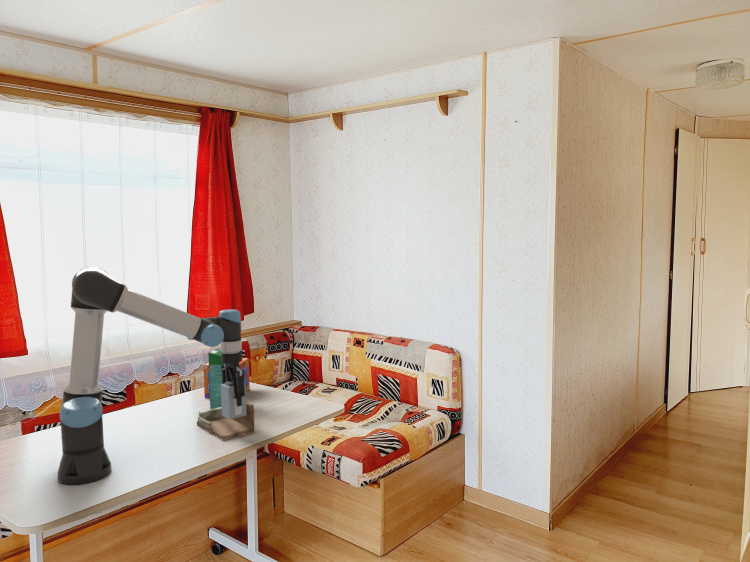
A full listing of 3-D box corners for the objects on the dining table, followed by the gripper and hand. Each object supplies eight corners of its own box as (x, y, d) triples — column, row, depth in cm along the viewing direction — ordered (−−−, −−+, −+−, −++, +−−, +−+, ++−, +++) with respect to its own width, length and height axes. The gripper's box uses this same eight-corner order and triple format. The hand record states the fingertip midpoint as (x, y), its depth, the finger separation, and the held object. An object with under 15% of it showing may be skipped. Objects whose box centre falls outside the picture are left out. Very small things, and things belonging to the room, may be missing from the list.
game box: (219, 388, 276) (218, 356, 274) (250, 390, 273) (249, 357, 272) (204, 398, 261) (203, 364, 259) (236, 400, 258) (235, 365, 256)
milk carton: (230, 411, 242) (228, 352, 240) (210, 410, 244) (208, 352, 242) (239, 404, 251) (237, 348, 249) (220, 403, 253) (218, 347, 250)
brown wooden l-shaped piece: (222, 440, 209) (221, 412, 208) (196, 425, 226) (195, 399, 225) (254, 431, 218) (253, 404, 217) (227, 417, 234) (226, 392, 233)
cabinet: (229, 419, 212) (228, 385, 210) (221, 415, 216) (220, 381, 215) (246, 415, 216) (245, 381, 215) (238, 411, 221) (237, 378, 219)
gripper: (253, 353, 209) (255, 415, 211) (228, 345, 223) (231, 404, 226) (234, 357, 204) (237, 420, 206) (210, 348, 218) (213, 408, 221)
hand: (234, 411), depth 216 cm, fingers closed on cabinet, 6 cm apart
